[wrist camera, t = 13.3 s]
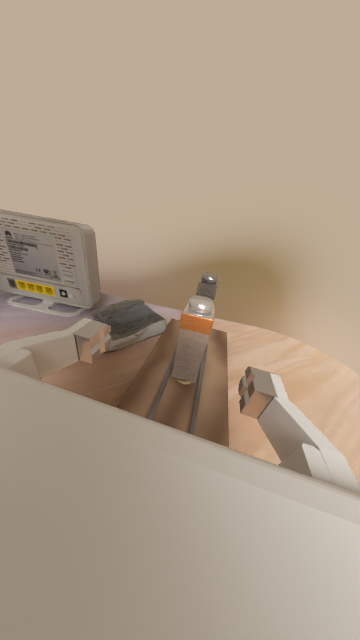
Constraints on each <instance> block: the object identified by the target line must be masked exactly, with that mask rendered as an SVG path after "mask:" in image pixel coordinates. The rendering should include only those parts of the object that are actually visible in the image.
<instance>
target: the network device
mask: <svg viewBox="0 0 360 640" xmlns="http://www.w3.org/2000/svg"><path fill="white" fill-rule="evenodd" d="M0 290H2V291H5V292H10V293H14V294H19V295H16V296H14V297H11V298H9V299H8V300H7V302H8V304H9V305H11V306H16V307H20V308H25V309H30V310H34V311H39V312H44V313H48V314H53V315H58V316H62V317H73V316H77V315H80V314H82V313H83V312H85V311H86V310H88V309H90V308H92V307H93V306H95V305H96V304H98V303H99V302H100V301H101V292H100V282H99V271H98V260H97V250H96V239H95V232H94V230H93V229H92V228H91V227H90V226H89V225H85V224H80V223H73V222H68V221H63V220H57V219H51V218H46V217H40V216H34V215H29V214H23V213H18V212H12V211H6V210H1V209H0ZM27 296H29V297H33V298H38V299H43V302H42V303H40V304H37V305H27V304H23V303H18V302H14V301H16V300H19V299H22V298H24V297H27ZM60 303H62V304H67V305H72V306H76V307H81V308H80V309H78V310H76V311H75V312H72V313H65V312H60V311H56V310H51V309H50V308H52V307H54V306H56V305H58V304H60Z"/></svg>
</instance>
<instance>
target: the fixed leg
mask: <svg viewBox="0 0 360 640" xmlns="http://www.w3.org/2000/svg"><path fill="white" fill-rule="evenodd" d="M217 278H218V276H217V275H214V274H210V273H203V275H202V277H201V279H200V281H199V284H198V288H197V293H196V296H204V297H207V298H210V299H211V300H213V301H214V297H215V294H216V290H217V286H218V281H217Z"/></svg>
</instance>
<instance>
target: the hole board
mask: <svg viewBox="0 0 360 640" xmlns="http://www.w3.org/2000/svg"><path fill="white" fill-rule="evenodd" d="M179 327H180V321H179V320H175V319H171V321H170V323H169V324H168V326H167V327H166V329H165V331H164V332H163V334H162V336H161V337H160V339H159V341H158V342H157V344H156V345H155V347H154V349H153V350H152V352H151V354H150V355H149V357H148V359H147V360H146V362H145V364H144V365H143V367H142V368H141V370H140V372H139V373H138V375H137V377H136V378H135V380H134V382H133V383H132V385H131V386H130V388H129V390H128V391H127V393H126V395H125V396H124V398H123V400H122V401H121V403H120V405H119V406H118V408H119V409H122V410H124V411H127V412H130V413H133V414H136V415H138V416H141V417H144V418H147V419H150V420H152V421H155V422H158V423H161V424H164V425H166V426H169V427H172V428H175V429H178V430H180V431H183V432H186V433H189V434H192V435H195V436H197V437H200V438H203V439H206V440H209V441H211V442H214V443H217V444H220V445H223V446H226V447H228V448H229V432H228V376H227V332H223V331H219V330H215V329H211V332H210V335H209V336H208V339H207V343H206V346H205V350H204V353H203V357H202V360H201V364H200V367H199V371H198V374H197V378H196V381H195V383H192V382H189V381H186V380H182V379H179V378H176V377H172V371H173V366H174V360H175V354H176V349H177V343H178V337H179V332H180V328H179Z"/></svg>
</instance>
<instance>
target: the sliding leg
mask: <svg viewBox="0 0 360 640" xmlns="http://www.w3.org/2000/svg"><path fill="white" fill-rule="evenodd" d="M213 306H214V301H213V300H211V299H210V298H207V297H204V296H191V297H190V300H189V301H188V303H187V304H186V306H185V309H184V310H183V312H182V315H181V321H180V327H179V328H180V332H179V337H178V343H177V349H176V354H175V360H174V366H173V371H172V377H176V378H179V379H182V380H186V381H189V382H192V383H195V381H196V378H197V374H198V371H199V367H200V364H201V360H202V357H203V353H204V350H205V346H206V343H207V339H208V336H209V335H210V332H211V329H212V325H213V322H214V314H215V307H213Z"/></svg>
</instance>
